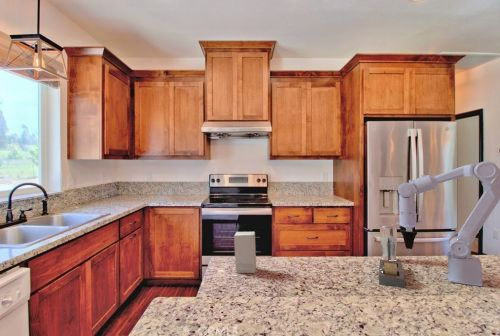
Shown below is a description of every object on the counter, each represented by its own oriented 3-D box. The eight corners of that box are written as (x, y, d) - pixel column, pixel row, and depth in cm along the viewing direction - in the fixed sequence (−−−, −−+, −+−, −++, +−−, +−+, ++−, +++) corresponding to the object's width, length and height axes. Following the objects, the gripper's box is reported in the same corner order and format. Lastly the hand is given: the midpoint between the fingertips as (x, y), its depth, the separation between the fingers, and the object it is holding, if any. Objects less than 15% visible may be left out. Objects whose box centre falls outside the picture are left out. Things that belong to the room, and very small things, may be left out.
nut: (396, 279, 99) (396, 263, 99) (397, 284, 96) (396, 267, 96) (384, 278, 101) (384, 262, 101) (384, 282, 97) (384, 265, 97)
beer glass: (396, 263, 117) (395, 229, 117) (379, 260, 121) (378, 227, 121) (398, 259, 122) (398, 226, 123) (382, 256, 126) (381, 224, 127)
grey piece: (401, 269, 110) (401, 261, 110) (404, 288, 92) (404, 279, 92) (380, 266, 113) (379, 259, 113) (379, 284, 95) (378, 275, 96)
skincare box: (256, 268, 113) (255, 231, 114) (255, 274, 107) (254, 234, 107) (236, 267, 114) (236, 231, 115) (234, 273, 108) (234, 234, 108)
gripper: (395, 209, 116) (396, 241, 116) (396, 214, 104) (397, 249, 103) (414, 210, 113) (415, 242, 113) (418, 215, 100) (419, 251, 100)
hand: (408, 246), depth 108 cm, fingers open, 7 cm apart
